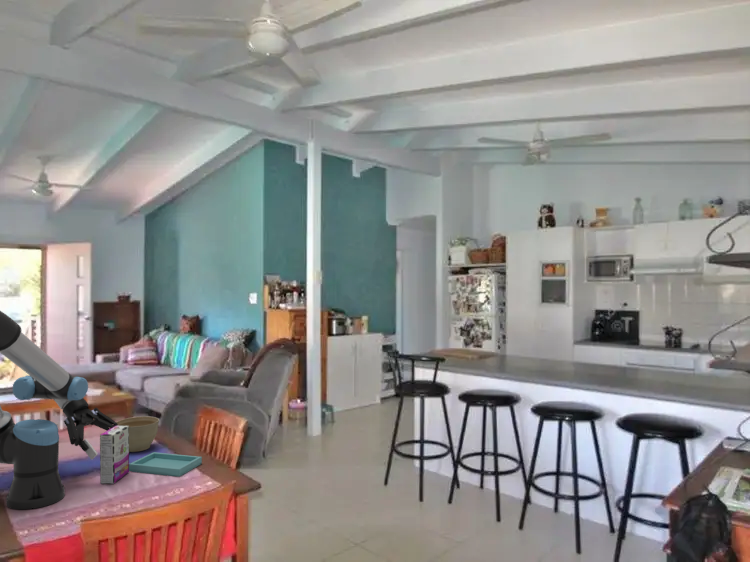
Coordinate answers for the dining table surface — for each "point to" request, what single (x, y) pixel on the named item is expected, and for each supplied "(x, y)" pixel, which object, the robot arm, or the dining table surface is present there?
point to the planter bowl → (140, 432)
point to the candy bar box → (114, 454)
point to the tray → (165, 464)
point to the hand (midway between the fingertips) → (109, 450)
